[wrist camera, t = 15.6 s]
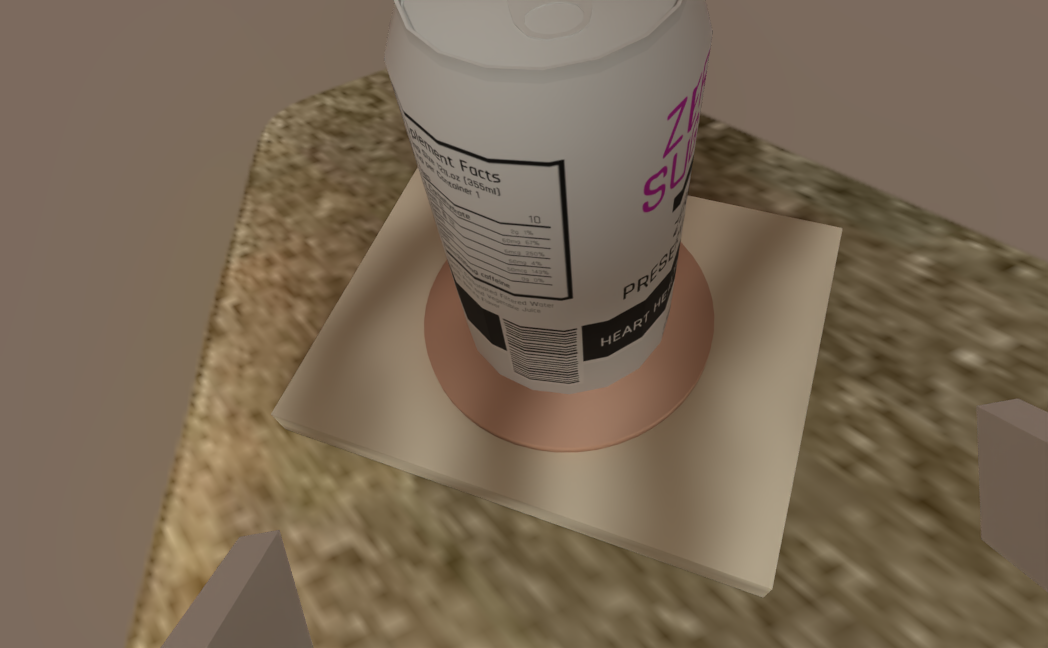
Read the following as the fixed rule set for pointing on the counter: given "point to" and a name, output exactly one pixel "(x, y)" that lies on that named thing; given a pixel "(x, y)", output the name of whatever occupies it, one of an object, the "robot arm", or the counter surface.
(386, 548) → the counter surface
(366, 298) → the mount board
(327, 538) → the counter surface
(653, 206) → the supplement can
